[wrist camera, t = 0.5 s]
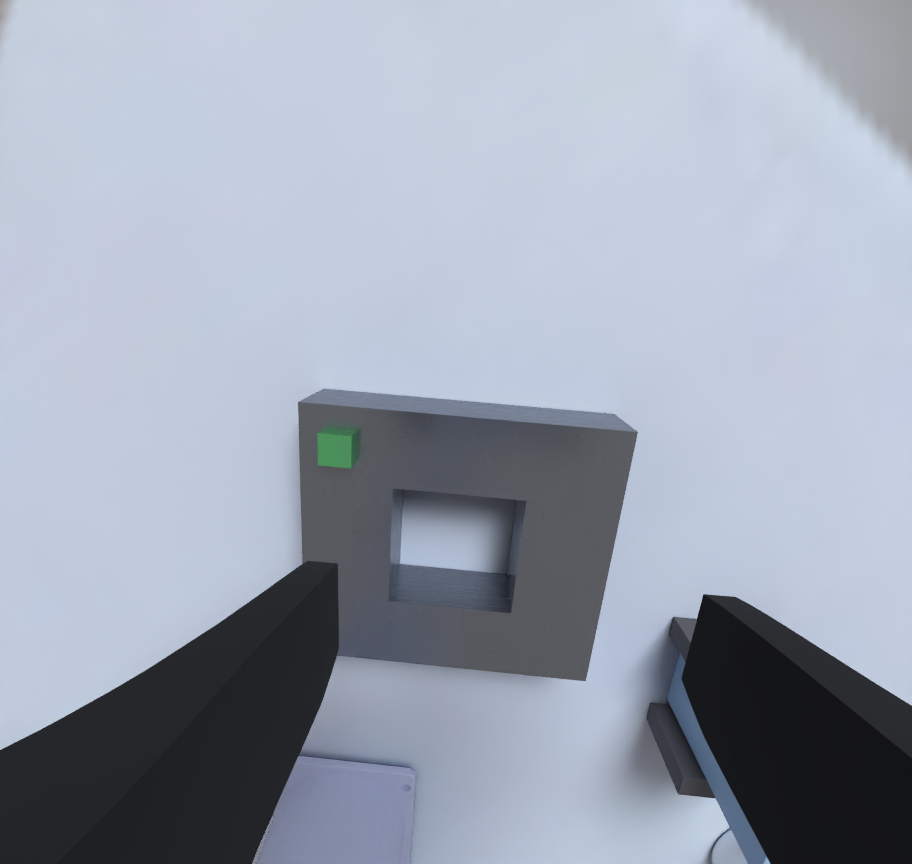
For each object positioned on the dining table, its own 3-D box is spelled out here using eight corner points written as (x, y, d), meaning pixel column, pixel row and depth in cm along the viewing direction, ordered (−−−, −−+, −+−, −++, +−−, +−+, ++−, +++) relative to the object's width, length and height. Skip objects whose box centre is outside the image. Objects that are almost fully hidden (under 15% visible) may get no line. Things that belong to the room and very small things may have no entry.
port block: (572, 635, 20) (589, 693, 17) (326, 610, 20) (299, 663, 17) (614, 414, 17) (644, 436, 14) (323, 388, 17) (291, 405, 14)
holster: (745, 728, 21) (796, 807, 18) (646, 718, 21) (678, 794, 18) (782, 627, 19) (845, 693, 16) (673, 616, 20) (714, 680, 16)
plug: (737, 705, 21) (860, 892, 14) (666, 698, 21) (756, 880, 14) (756, 648, 20) (899, 820, 13) (682, 641, 20) (787, 808, 13)
